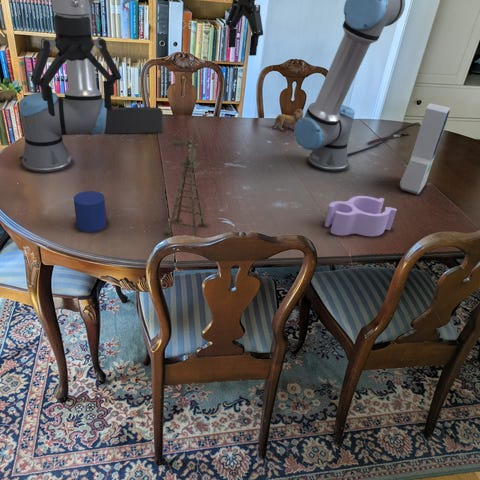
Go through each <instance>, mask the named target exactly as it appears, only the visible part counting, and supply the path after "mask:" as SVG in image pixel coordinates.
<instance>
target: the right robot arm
mask: <svg viewBox="0 0 480 480" xmlns="http://www.w3.org/2000/svg"><path fill="white" fill-rule="evenodd" d="M255 3H256V0H232V3H231V7H230V10H229V14H228V16H227V18H226V22H225V25H226V26H227V27H228V46H227V47H228V48H236V44H237V43H236V42H237V31H238V29H237V26H238V24H239V23H240V21H241V20H242V17H245V18H246V19H247V22H248V25H249V28H250V31H251V35H250V38H249V39H250V41H249V50H248V56H249V57H251V56H252V57H253V56H257V50H258V45H259V37H261V36H263V35H264V29H263V24H262V23H263V21H262V15H261V5H260V4H255ZM405 7H406V0H345V2H344V6H343V14H344V21H343V22H342V30H343V32H344V34H343V36H342V38H341V41H340V43H339V45H338V47H337V51H336V52H335V55H334V57H333V60H332V62H331V64H330V67H329V69H328V71H327V74H326V76H325V78H324V80H323V83H322V85H321V88H320V90H319V92H318V94H317V96H316V98H315V101H314V102H312V103H311V102H310V104H309V105H308V107H307V109H306V112H305V114H304V115H303V117H302V118H300V119H299V120H298V121H297V122H296V124H295V127H294V130H293V134H294V137H295V140H296V142H297V144H298V145H299V146H300V147H301V148H303V149H305V150H308V151H311V152H310V154H309V156H308V160H307V162H308V164H309V166H311V167H312V168H314V169H317V170H320V171H322V172H328V173H340V172H344V171H346V170H347V169H348V165H349V159H348V156H352V155H356V154H359V153H361V152H364V151H367V150H370V149H373V148H375V147H377V146H380V145H381V144H383V143H385V142H386V141H388V140H389V139H390V138H389V137H391V136H393V135H396V134H398V133H399V132H401V131H403V130H405V129H406V128H408V127H412V126H414V125H413V124H415V125H418V126H421V124H420V122H413V123H411V124H407V125H405V126H403V127H401V128H400V129H397V130H396V131H395V132H393V133H392V134H390V135H389V137H388V136H387V137H388V138H386V139H384V140H380V141H378V142H376V143H375V144H374V145H373V144H372V145H371V146H368V147H365V148H363V149H359V150H357V151H353V152H349V153H348V144H349V141H350V135H351V132H352V127H353V123H354V120H355V110H354V109H353V108H352V107H349V106H347V105H344V104H343V103H344V101H345V99H346V97H347V95H348V92H349V91H350V89H351V86H352V84H353V82H354V80H355V78H356V76H357V75H358V72H359V69H360V67H361V65H362V63H363V61H364V58H365V57H366V55H367V52H368V50H369V48H370V46H371V45H372V44H374V43H376V42H378V41H379V39H380V37H381V34H382V32H383V30H384V28H385V27H389V26H392V25H394V24H395V23H396V22H398V20H400V19H401V17H402V15H403V13H404V12H405Z"/></svg>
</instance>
